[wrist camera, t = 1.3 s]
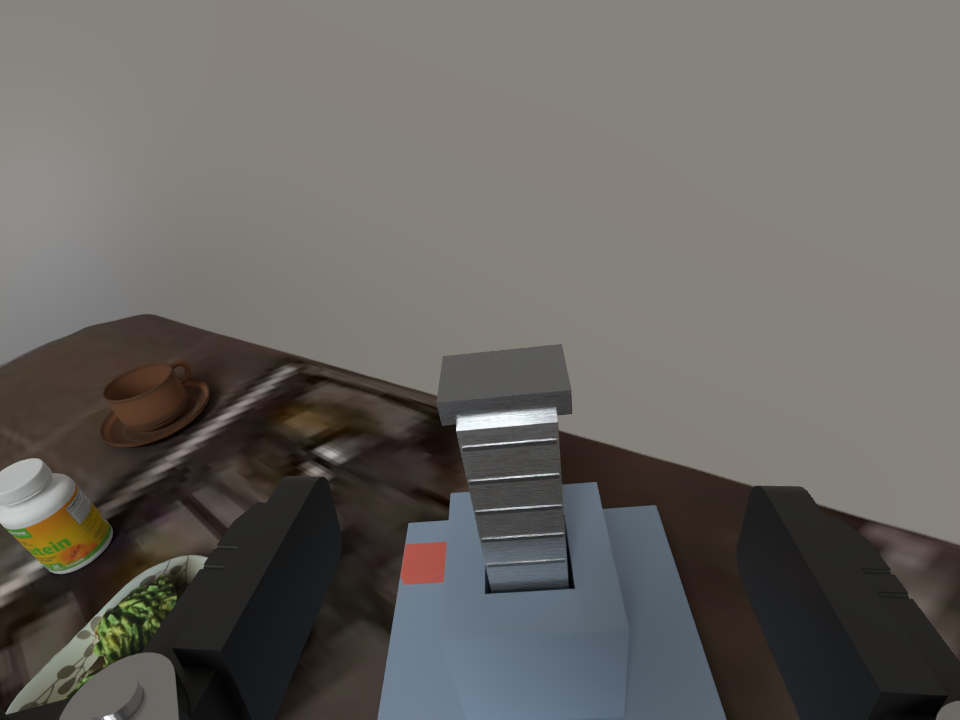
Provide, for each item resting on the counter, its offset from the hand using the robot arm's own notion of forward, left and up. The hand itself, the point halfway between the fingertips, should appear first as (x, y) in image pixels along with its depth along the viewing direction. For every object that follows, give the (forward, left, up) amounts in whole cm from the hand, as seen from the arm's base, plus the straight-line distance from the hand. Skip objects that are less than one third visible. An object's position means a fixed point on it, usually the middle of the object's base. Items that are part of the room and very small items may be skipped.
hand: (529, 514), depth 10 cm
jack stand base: (-5, -10, -27) cm, 29 cm away
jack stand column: (-5, -10, -25) cm, 28 cm away
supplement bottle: (+25, -40, -28) cm, 54 cm away
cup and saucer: (+18, -56, -28) cm, 65 cm away
